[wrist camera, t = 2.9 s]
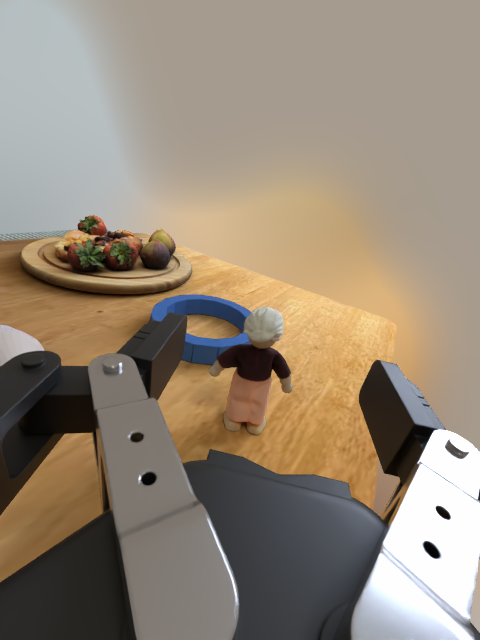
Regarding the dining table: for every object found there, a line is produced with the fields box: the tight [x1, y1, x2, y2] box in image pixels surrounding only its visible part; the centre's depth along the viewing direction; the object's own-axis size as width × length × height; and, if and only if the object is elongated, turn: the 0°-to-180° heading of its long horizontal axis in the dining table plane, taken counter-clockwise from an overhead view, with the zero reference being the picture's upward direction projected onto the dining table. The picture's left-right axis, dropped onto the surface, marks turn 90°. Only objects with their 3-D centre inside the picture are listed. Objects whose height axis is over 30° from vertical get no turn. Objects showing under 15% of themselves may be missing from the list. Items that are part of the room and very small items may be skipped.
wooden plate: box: [20, 215, 192, 294], centre depth 59 cm, size 32×32×8 cm
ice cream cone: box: [0, 325, 44, 366], centre depth 25 cm, size 6×6×15 cm
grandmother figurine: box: [209, 307, 293, 435], centre depth 26 cm, size 8×4×13 cm, turn 97°
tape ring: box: [150, 295, 252, 365], centre depth 43 cm, size 16×16×3 cm
